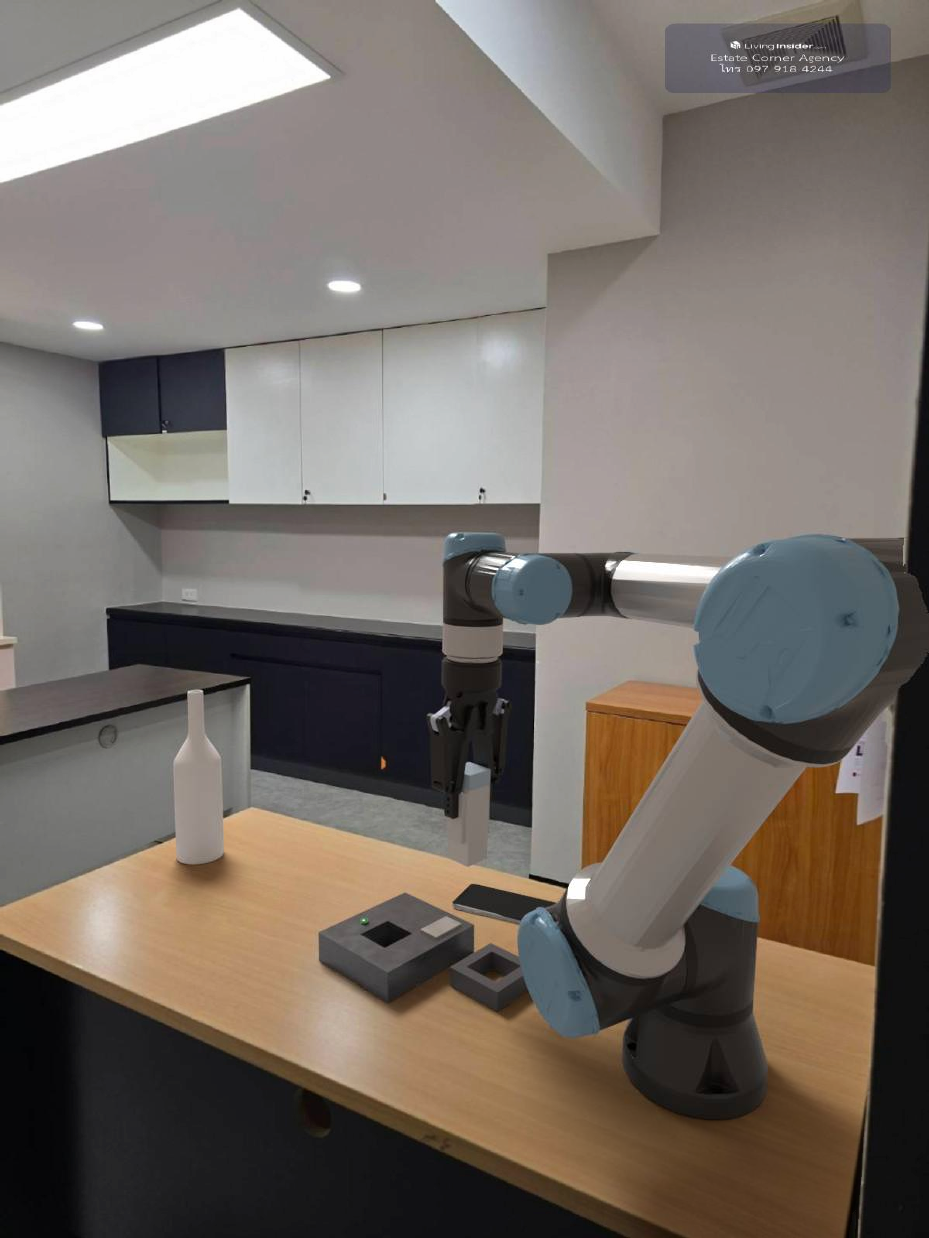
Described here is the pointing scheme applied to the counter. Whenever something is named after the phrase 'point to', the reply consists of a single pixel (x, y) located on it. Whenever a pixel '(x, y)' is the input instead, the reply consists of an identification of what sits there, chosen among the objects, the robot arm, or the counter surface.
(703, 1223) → the counter surface
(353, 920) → the panel
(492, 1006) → the grey square ring
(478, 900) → the smartphone
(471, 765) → the plug
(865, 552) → the robot arm
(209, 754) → the bottle
